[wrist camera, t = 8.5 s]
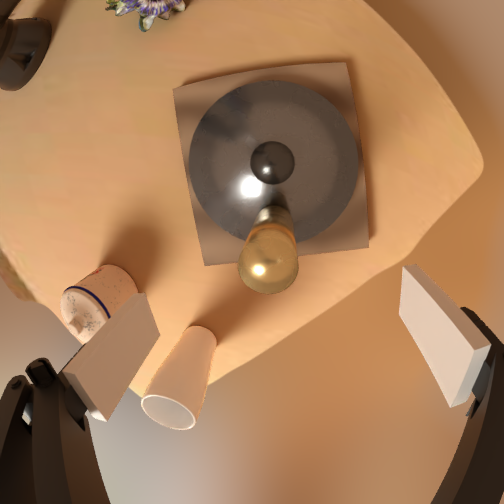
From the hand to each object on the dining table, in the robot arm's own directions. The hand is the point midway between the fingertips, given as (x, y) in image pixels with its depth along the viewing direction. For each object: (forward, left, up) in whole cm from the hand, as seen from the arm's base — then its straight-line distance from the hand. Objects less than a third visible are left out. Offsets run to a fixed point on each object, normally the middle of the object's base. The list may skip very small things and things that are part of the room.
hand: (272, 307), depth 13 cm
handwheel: (-6, 0, -19) cm, 20 cm away
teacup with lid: (+9, -27, -21) cm, 35 cm away
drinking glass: (+17, -14, -21) cm, 30 cm away
